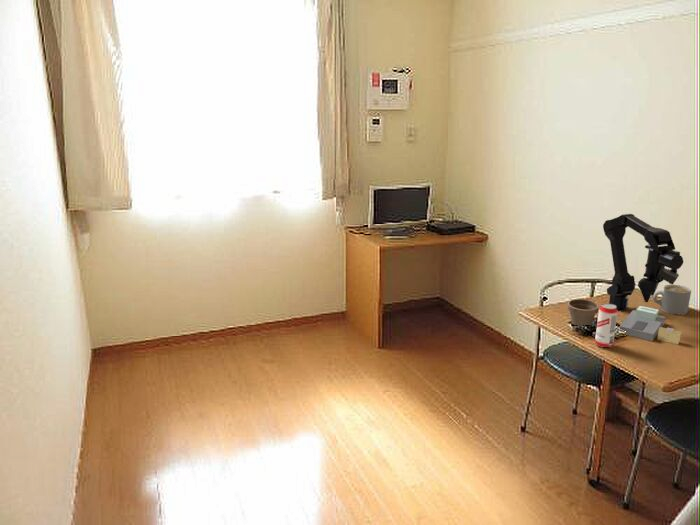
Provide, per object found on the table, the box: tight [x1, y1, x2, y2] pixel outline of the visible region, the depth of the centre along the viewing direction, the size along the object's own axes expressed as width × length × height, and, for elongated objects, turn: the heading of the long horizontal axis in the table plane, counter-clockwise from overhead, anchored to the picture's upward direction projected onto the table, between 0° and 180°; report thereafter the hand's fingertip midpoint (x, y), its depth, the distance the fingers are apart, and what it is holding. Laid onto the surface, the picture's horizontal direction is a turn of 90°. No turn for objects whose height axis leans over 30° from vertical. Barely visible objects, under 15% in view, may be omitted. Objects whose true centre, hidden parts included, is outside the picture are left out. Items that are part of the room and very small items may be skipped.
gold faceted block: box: [656, 326, 682, 345], centre depth 203 cm, size 2×7×5 cm, turn 50°
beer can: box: [594, 302, 619, 348], centre depth 199 cm, size 6×6×16 cm
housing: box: [619, 309, 666, 342], centre depth 214 cm, size 12×20×3 cm, turn 140°
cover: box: [636, 305, 660, 321], centre depth 217 cm, size 7×5×3 cm
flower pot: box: [567, 298, 600, 326], centre depth 216 cm, size 12×11×10 cm
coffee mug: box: [652, 284, 692, 316], centre depth 229 cm, size 13×10×10 cm
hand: (649, 298), depth 215 cm, fingers open, 9 cm apart
